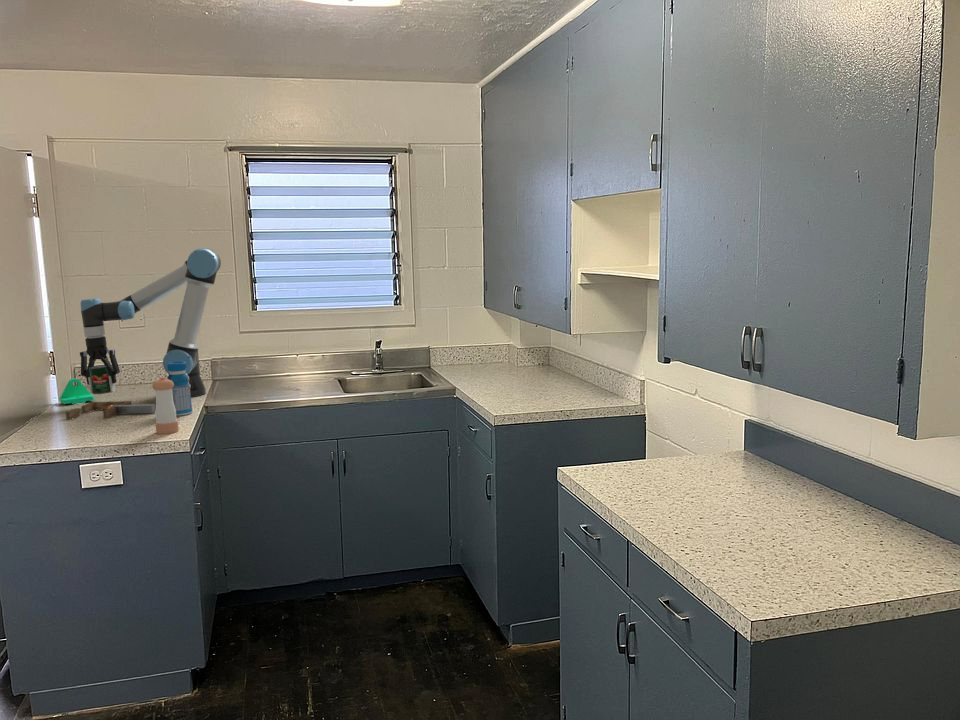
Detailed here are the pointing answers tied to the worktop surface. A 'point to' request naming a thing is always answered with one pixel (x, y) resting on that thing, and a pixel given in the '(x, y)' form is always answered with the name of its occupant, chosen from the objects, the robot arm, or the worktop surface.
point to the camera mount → (75, 393)
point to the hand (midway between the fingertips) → (103, 391)
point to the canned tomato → (100, 379)
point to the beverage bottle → (180, 387)
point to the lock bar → (133, 408)
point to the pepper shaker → (165, 407)
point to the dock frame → (99, 406)
